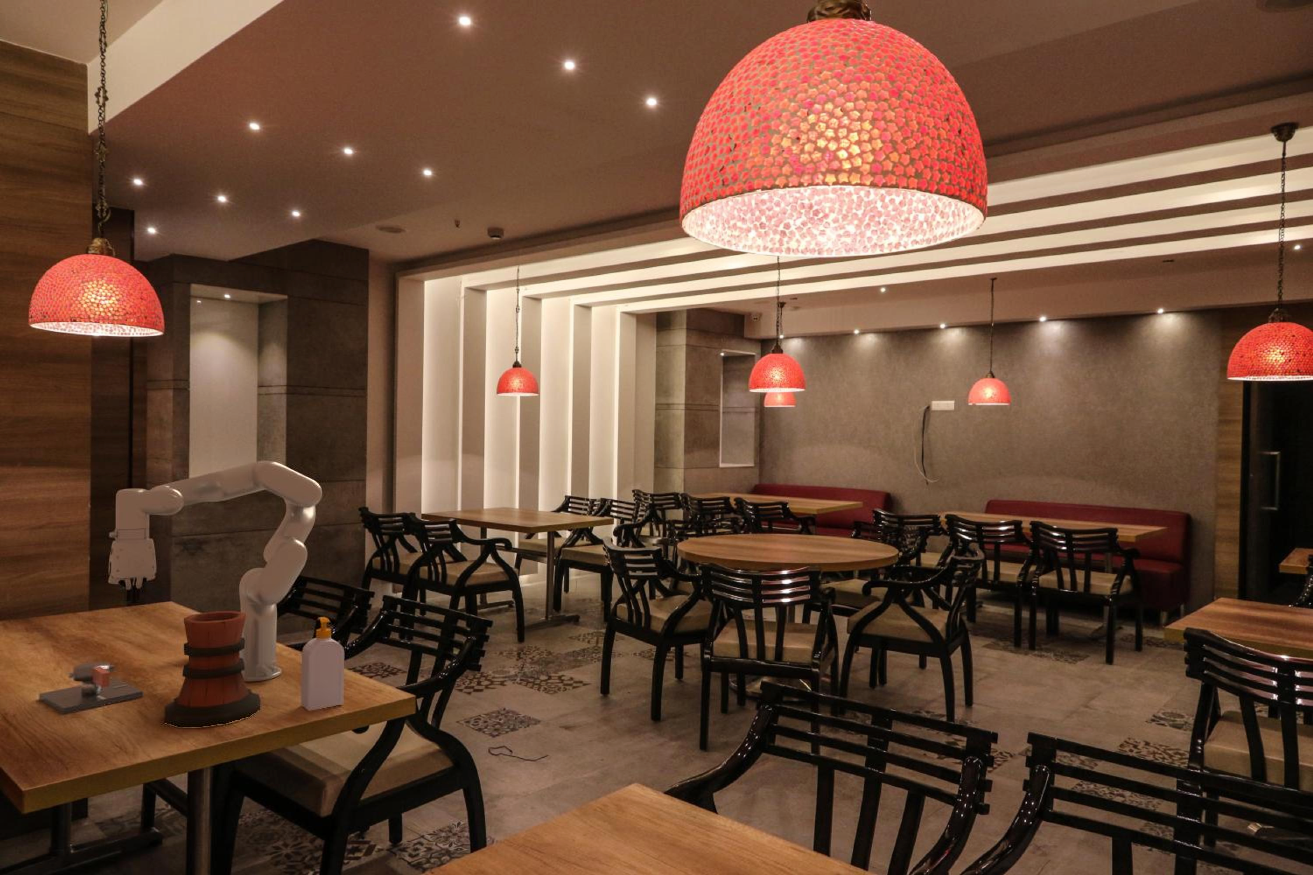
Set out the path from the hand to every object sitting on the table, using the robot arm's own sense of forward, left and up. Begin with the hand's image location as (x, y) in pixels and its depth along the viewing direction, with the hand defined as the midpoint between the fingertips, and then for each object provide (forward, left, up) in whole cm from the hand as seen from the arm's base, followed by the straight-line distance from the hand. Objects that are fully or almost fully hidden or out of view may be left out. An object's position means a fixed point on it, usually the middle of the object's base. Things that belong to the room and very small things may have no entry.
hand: (132, 603), depth 216 cm
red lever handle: (+3, +7, -20) cm, 21 cm away
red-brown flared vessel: (-28, -9, -26) cm, 39 cm away
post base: (+7, +7, -25) cm, 27 cm away
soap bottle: (-44, -29, -26) cm, 59 cm away
